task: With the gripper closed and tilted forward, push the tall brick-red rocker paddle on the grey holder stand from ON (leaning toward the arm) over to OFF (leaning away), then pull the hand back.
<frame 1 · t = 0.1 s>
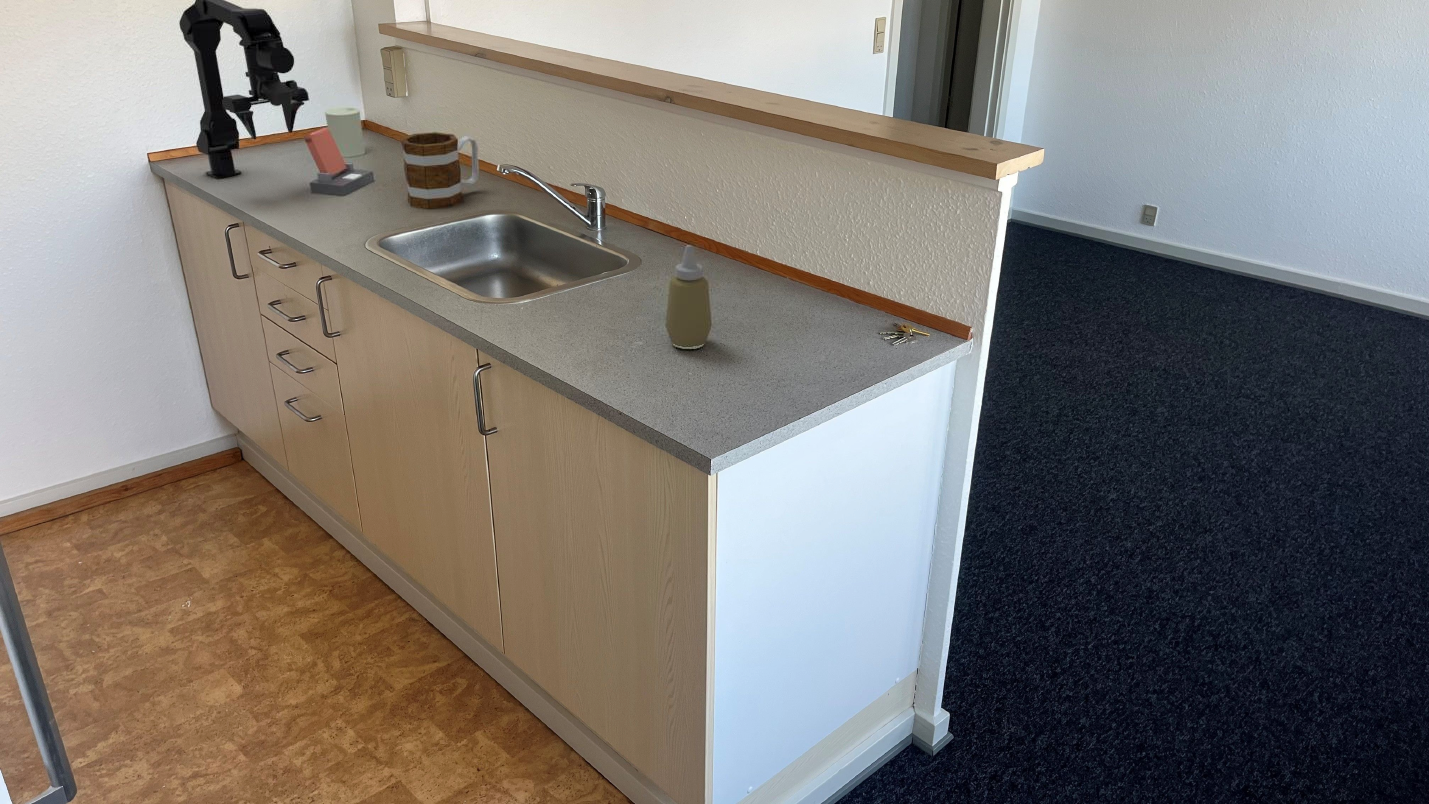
hand: (272, 135, 250), 15 cm above the worktop, tool pointing down, fingers open, 9 cm apart
mug: (446, 199, 258), on the worktop
can: (348, 153, 294), on the worktop
rocker: (325, 152, 262), point 8 cm above the worktop, hinge at -20.0°
grey holder stand: (337, 186, 265), on the worktop
squeeze bottle: (688, 345, 185), on the worktop
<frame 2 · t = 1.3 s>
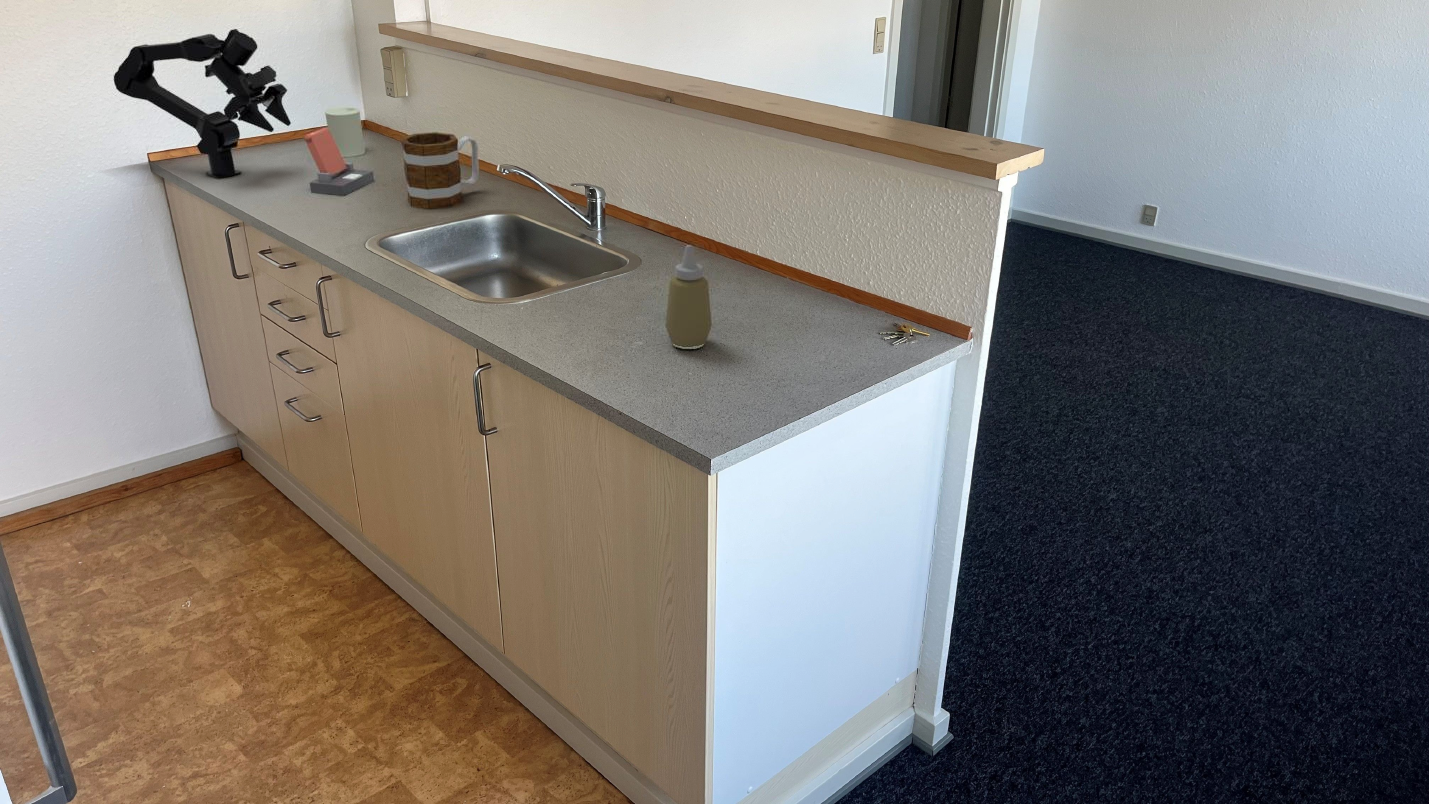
hand: (281, 127, 262), 13 cm above the worktop, tool tilted 45°, fingers open, 7 cm apart
nothing on the worktop moved.
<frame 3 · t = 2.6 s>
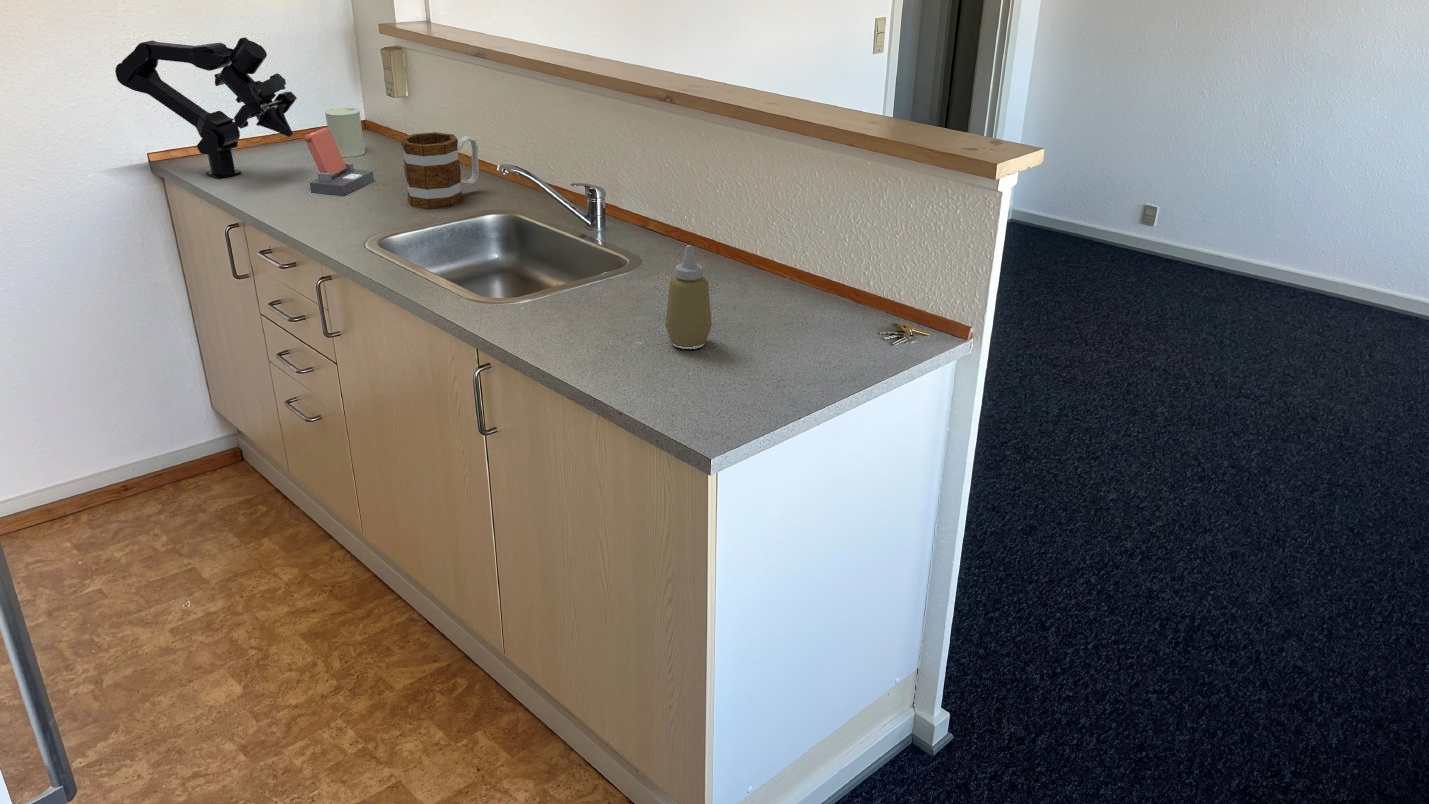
hand: (291, 135, 262), 12 cm above the worktop, tool tilted 45°, fingers closed
nothing on the worktop moved.
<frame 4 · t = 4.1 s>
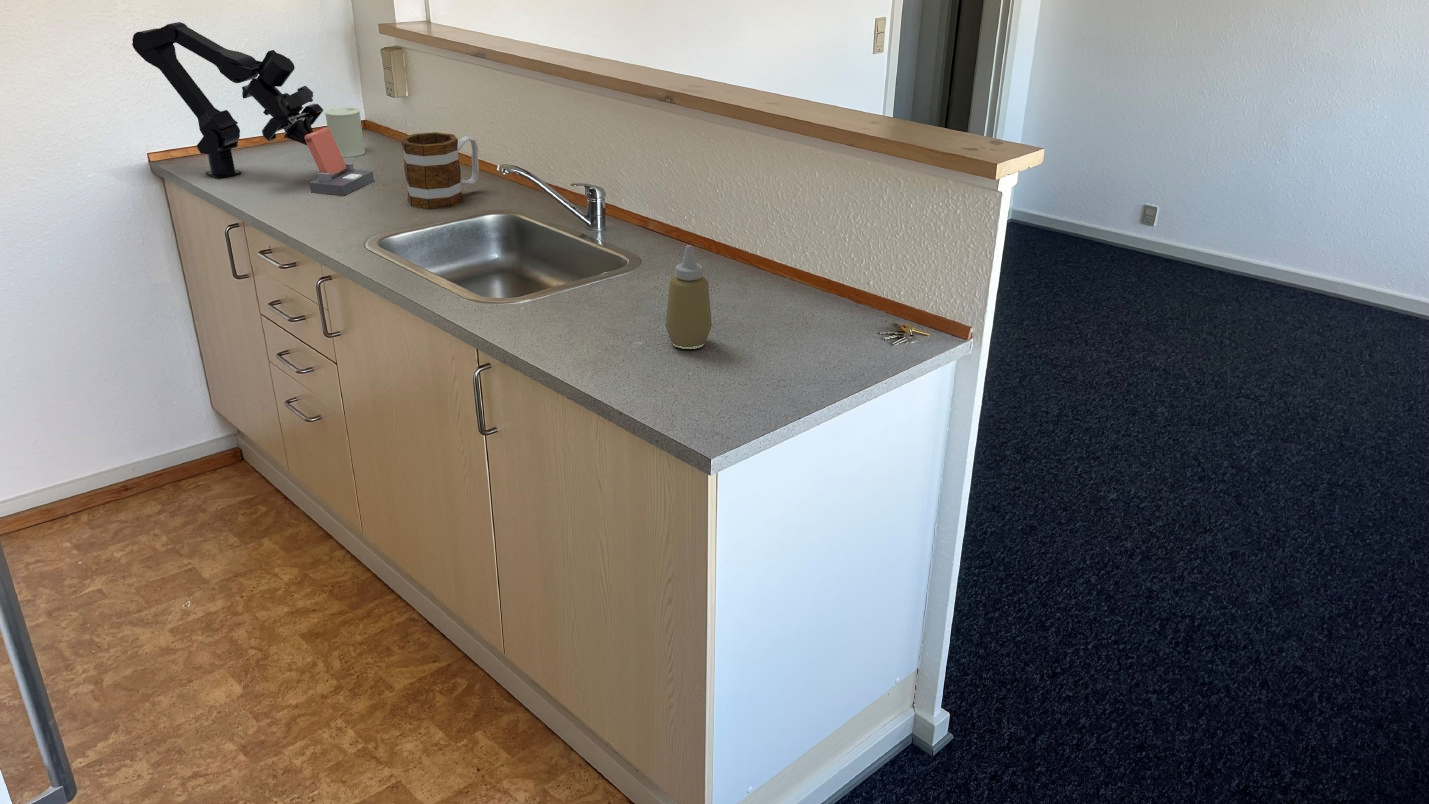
hand: (318, 147, 262), 9 cm above the worktop, tool tilted 45°, fingers closed, pressing on rocker
rocker: (325, 152, 262), point 8 cm above the worktop, hinge at -19.5°, touching gripper
everything else where it was.
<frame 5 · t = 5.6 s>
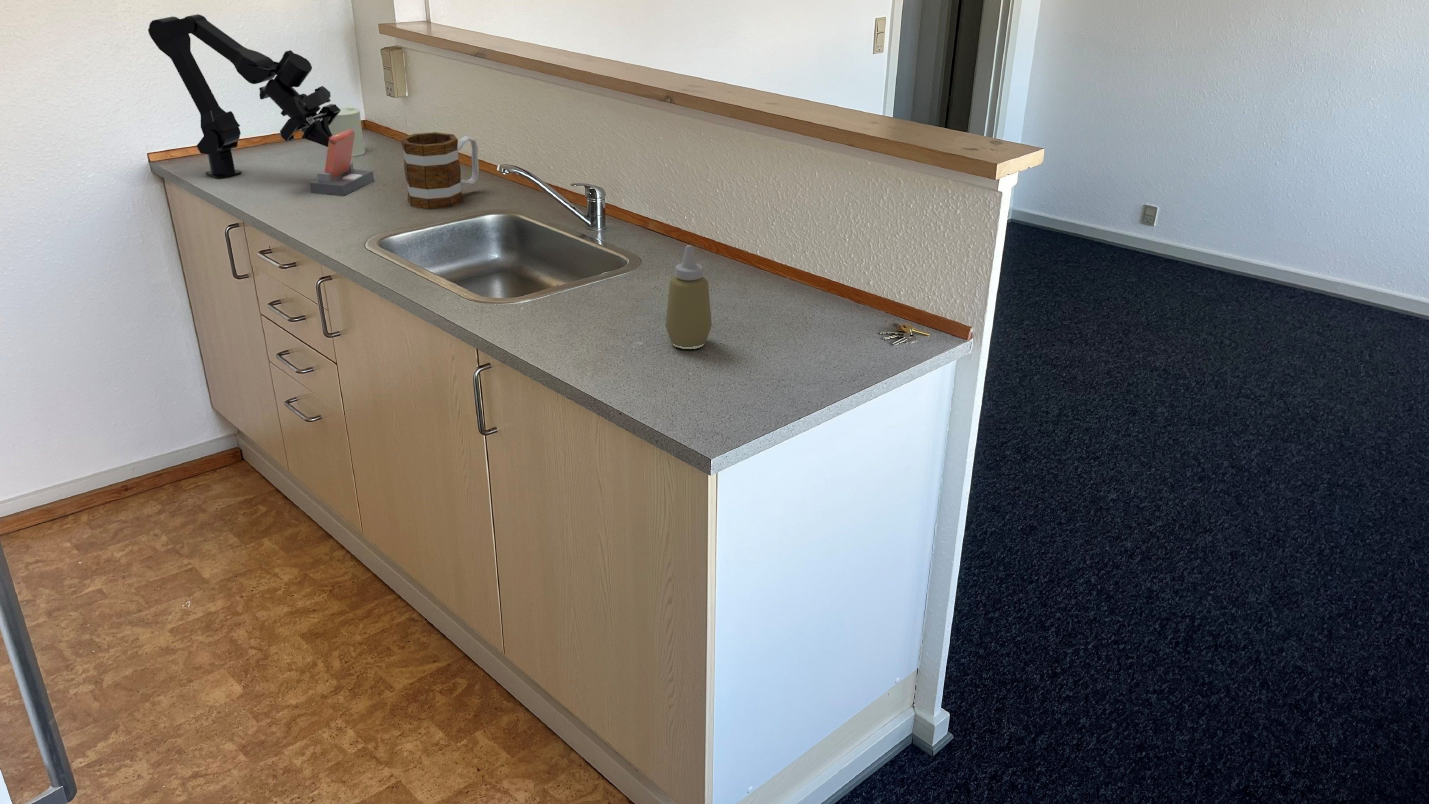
hand: (336, 148, 261), 10 cm above the worktop, tool tilted 45°, fingers closed, pressing on rocker
rocker: (339, 153, 261), point 8 cm above the worktop, hinge at 17.5°, touching gripper
everything else where it was.
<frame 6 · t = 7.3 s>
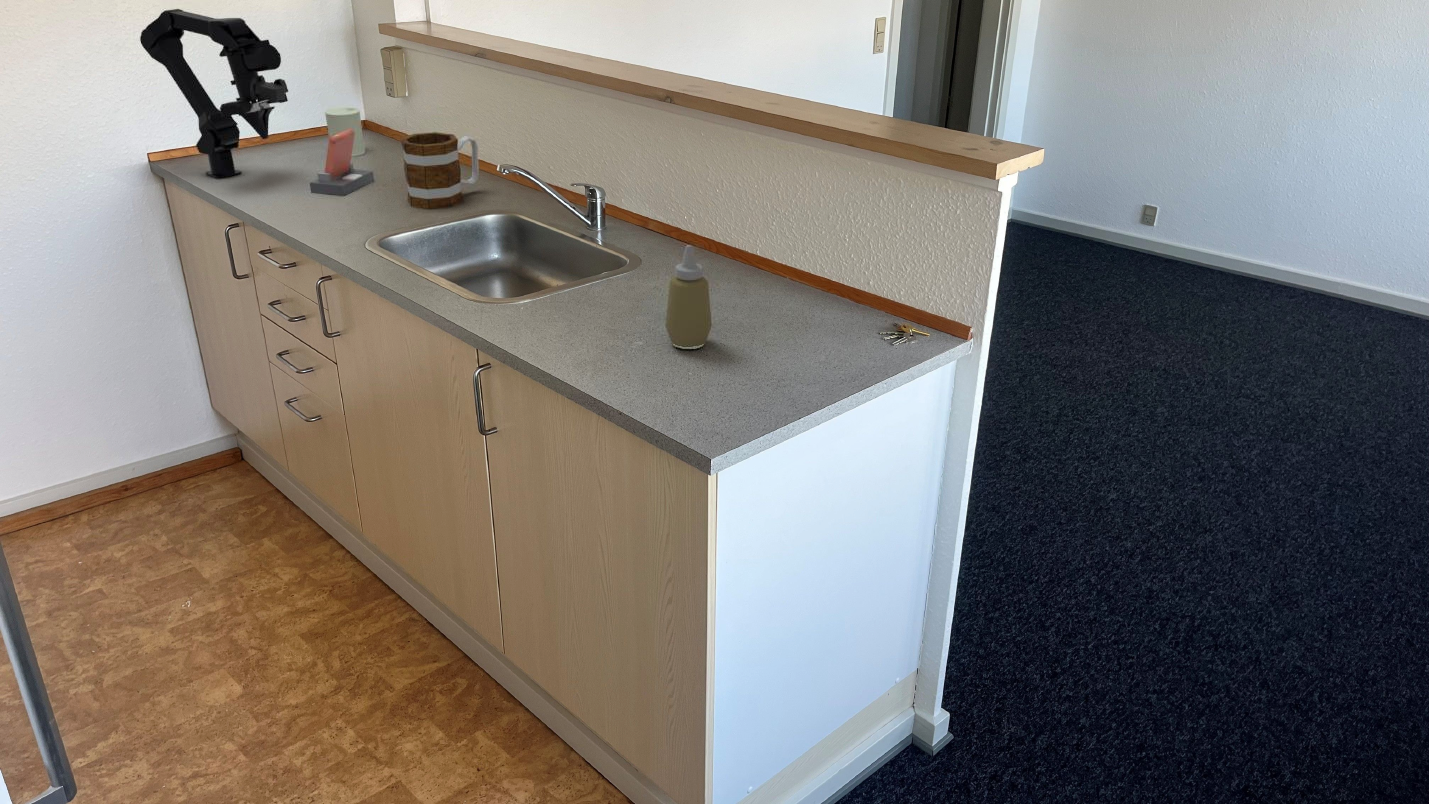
hand: (265, 138, 261), 11 cm above the worktop, tool pointing down, fingers closed
rocker: (339, 153, 261), point 8 cm above the worktop, hinge at 17.6°
everything else where it was.
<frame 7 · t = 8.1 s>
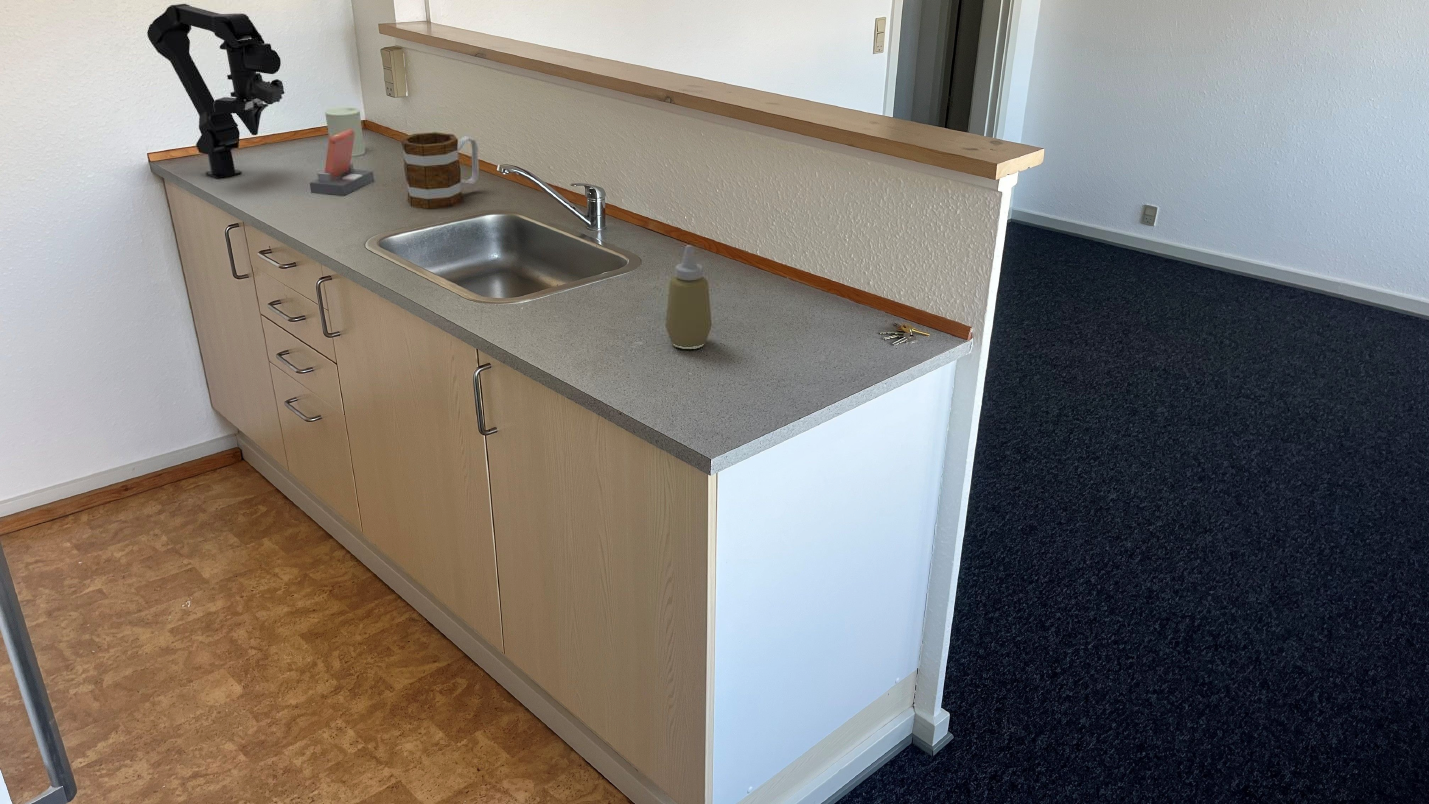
hand: (254, 134, 261), 12 cm above the worktop, tool pointing down, fingers closed
nothing on the worktop moved.
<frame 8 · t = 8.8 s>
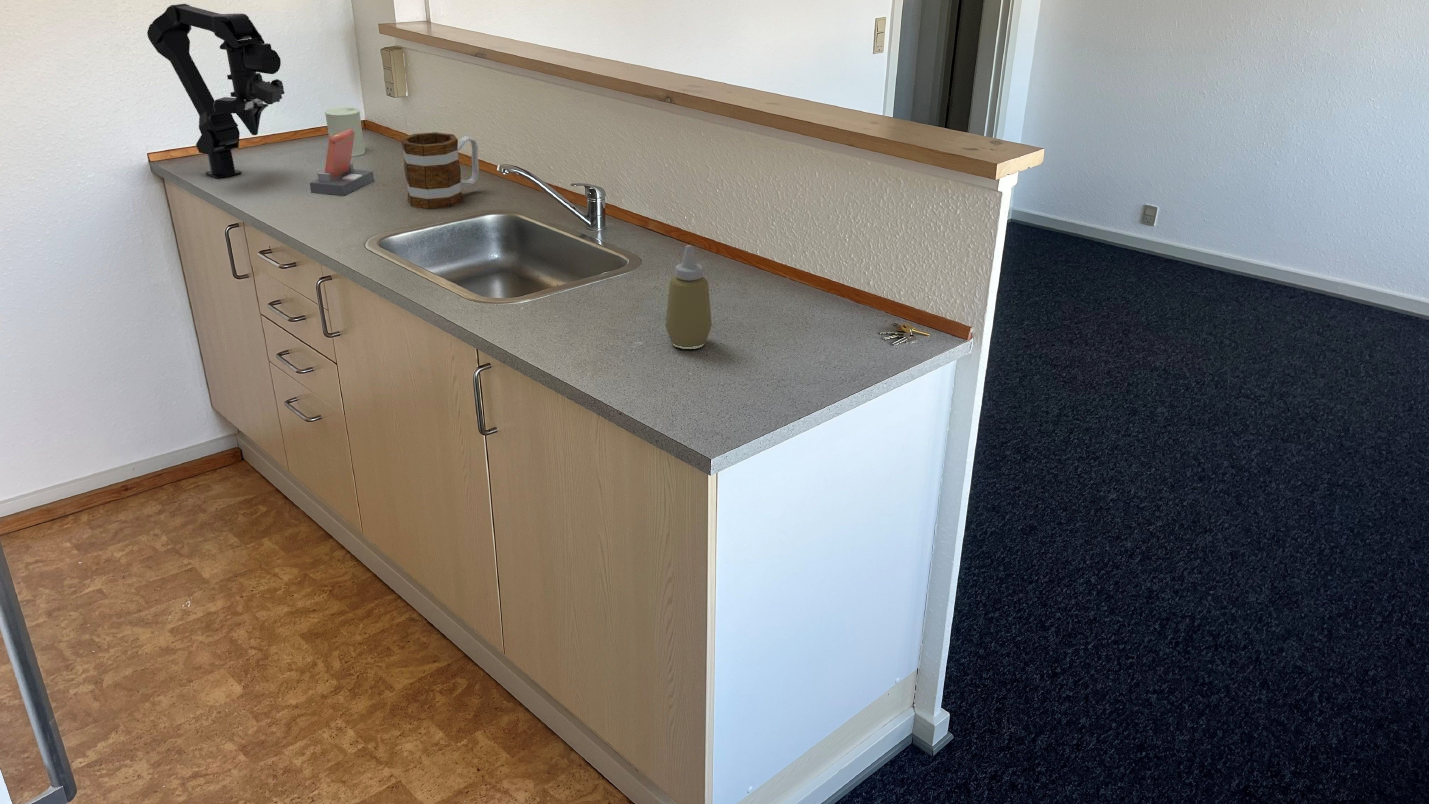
hand: (254, 134, 261), 12 cm above the worktop, tool pointing down, fingers closed
nothing on the worktop moved.
at the end: rocker at +18° (first picture: -20°) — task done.
